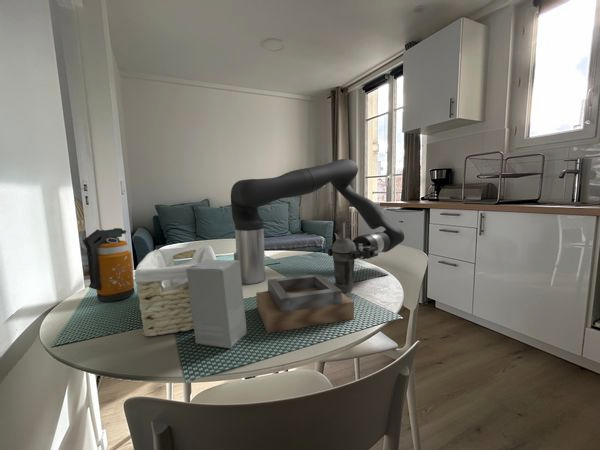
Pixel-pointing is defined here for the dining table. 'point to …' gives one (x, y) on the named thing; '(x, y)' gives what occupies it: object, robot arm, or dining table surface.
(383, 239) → the robot arm
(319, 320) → the cup block
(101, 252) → the canister
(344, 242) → the beverage cup
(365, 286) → the dining table surface
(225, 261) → the skincare box
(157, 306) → the storage basket
